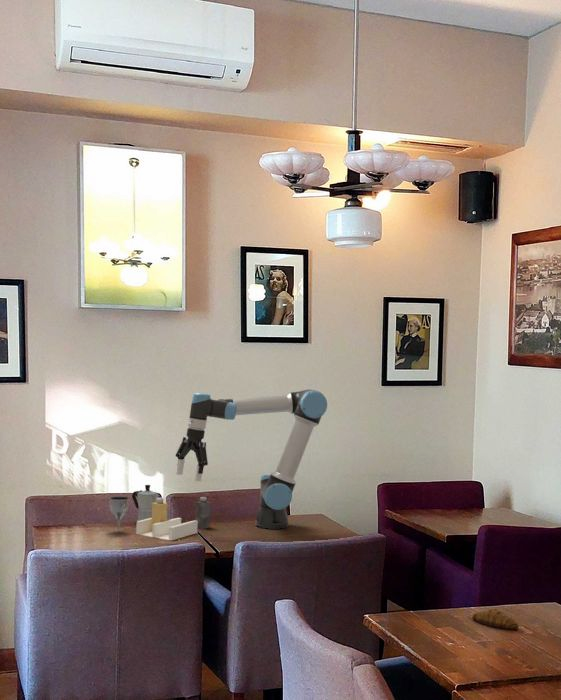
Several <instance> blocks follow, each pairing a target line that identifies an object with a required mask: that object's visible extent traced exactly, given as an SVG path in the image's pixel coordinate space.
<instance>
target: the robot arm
mask: <svg viewBox="0 0 561 700" xmlns="http://www.w3.org/2000/svg"><path fill="white" fill-rule="evenodd" d="M327 410H328V400H327V398H326V397H325V395H324V394H323V393H322V392H320V391H319V390H315V389H305V390H304V389H303V390H300V391H293V392H288V394H282V395H280V394H279V395H271V396H270V395H269V396H268V395H267V396H257V397H256V396H254V397H240V398H238V397H237V398H229V399H228V398H226V399H224V398H220V399H217V400H216V399H213V398H211V395H210V394H209V393H203V392H194V393H193V395H192V400H191V404H190V411H189V419H188V424H187V427H188V428H187V429H186V436H185V437H184V436H183V437H182V440H181V443H180V445H179V447H178V449H177V452H176V453H175V457H176V458H177V468H176V473H175V474H176V475H179V476H180V475H181V476H182V475H183V472H184V467H185V462H186V461H185V460H186V459H185V457H187V455H188V454H189V453H190V451H192V452H194V453H195V457H196V460H197V463H198V464H197V466H196V471H195V477H194V482H201V481H202V476H203V474H204V468H205V466H208V465H209V462H208V453H207V442H204V441H202V440H203V439H205V433H206V431H205V430H206V428H207V420H208V417H209V418H216V419H223V420H227V421H229V420H230V421H231V420H232V421H233V420H235V419H236V416H244V415H245V416H247V415H259V414H262V415H263V414H271V413H272V414H273V413H275V414H276V413H289V414H293V416H294V419H295V420H294V422H293V425H292V428H291V431H290V433H289V436H288V438H287V441H286V443H285V446H284V448H283V451H282V454H281V456H280V459H279V461H278V465H277V467H276V469H275V471H273V472H271V473H270V474H262V475H261V477H260V480H259V481H260V493H259V495H260V497H259V510H258V512H257V516H256V518H255V524H256V525H257V526H259V527H258V528H260V527H262V529H266V528H268V529H269V530H280V528H282V529H286V528H285V527H287V528H289V527H288V526H290V520H289V517H288V513H287V509H286V508H287V507H288V506H290V504H291V502H292V500H293V491H294V488H295V486H296V481H295V476H296V474H297V472H298V468H299V466H300V463H301V461H302V458H303V456H304V454H305V451H306V448H307V446H308V443H309V441H310V437H311V435H312V433H313V430H314V428H315V427H317V426H318V425H319V424H320V422H321V419H322V417H323V416H324V415H325V413H326V412H327ZM256 525H255V526H256ZM257 526H256V527H257Z"/></svg>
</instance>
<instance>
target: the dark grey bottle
mask: <svg viewBox="0 0 561 700" xmlns="http://www.w3.org/2000/svg"><path fill="white" fill-rule="evenodd" d="M207 498H208V497H207V496H201V497H199V501H196V502H195V519H194V520H196V521H198V523H197V529H201V530H205V529H208V528H211V527H210V525H211V524H210V520H211V501H208V499H207Z"/></svg>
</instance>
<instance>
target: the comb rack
mask: <svg viewBox="0 0 561 700" xmlns="http://www.w3.org/2000/svg"><path fill="white" fill-rule="evenodd" d="M197 523H198V521H196V520H195V519H194V520H191V521H186V522H183V523H182V518H181V517H176V518H170V519H167V521H163V522H159V523H156V524H153V531H152V532H151V526H152V518H149V519H144V520H140V521H138V520H137V521H136V529H135V531H136V533H135V535H139V536H140V535H141V536H145V537H150V538H156V539H161V540H166V541H167V540H168V541H175V540H177V539H181V538H184V537H185V538H186V537H188V536H191V535H194V534H198V528H197Z"/></svg>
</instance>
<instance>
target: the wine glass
mask: <svg viewBox="0 0 561 700" xmlns="http://www.w3.org/2000/svg"><path fill="white" fill-rule="evenodd" d="M129 505H130V497H129V496H124V495H121V496H120V495H118V496H117V495H115V496H110V497H109V509H110V511H111V514H113V516H114V517H115V519H116V522H117V530H116V533H120V532H121V530H120V524H121V521H122V518H123V517H124V516H125V514H126V513H127V512H128V510H129Z"/></svg>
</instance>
